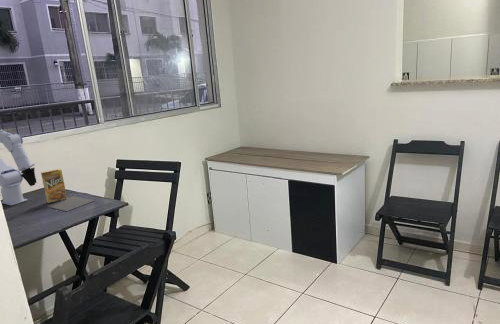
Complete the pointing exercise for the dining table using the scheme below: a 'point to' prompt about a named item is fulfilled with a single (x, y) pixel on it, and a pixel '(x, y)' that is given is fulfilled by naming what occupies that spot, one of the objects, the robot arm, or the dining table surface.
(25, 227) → the dining table surface
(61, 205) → the mat
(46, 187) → the candy box
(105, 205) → the dining table surface
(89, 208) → the dining table surface
